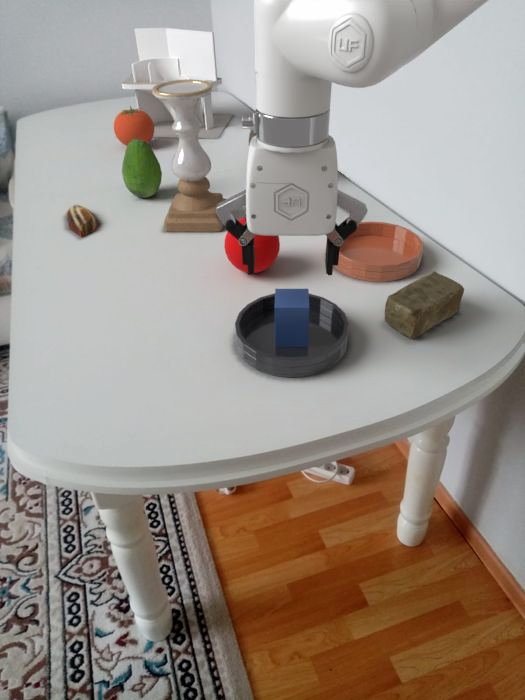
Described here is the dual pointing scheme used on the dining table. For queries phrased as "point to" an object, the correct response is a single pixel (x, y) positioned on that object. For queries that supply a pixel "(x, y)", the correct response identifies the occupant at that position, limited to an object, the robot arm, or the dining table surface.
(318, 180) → the robot arm
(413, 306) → the stone block
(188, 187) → the candle holder
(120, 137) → the tomato
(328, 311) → the charcoal bowl
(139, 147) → the fruit
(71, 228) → the decorative stone
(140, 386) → the dining table surface
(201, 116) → the architectural model
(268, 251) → the ornament
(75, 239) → the dining table surface
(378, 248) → the terracotta bowl
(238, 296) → the dining table surface
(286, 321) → the blue block
